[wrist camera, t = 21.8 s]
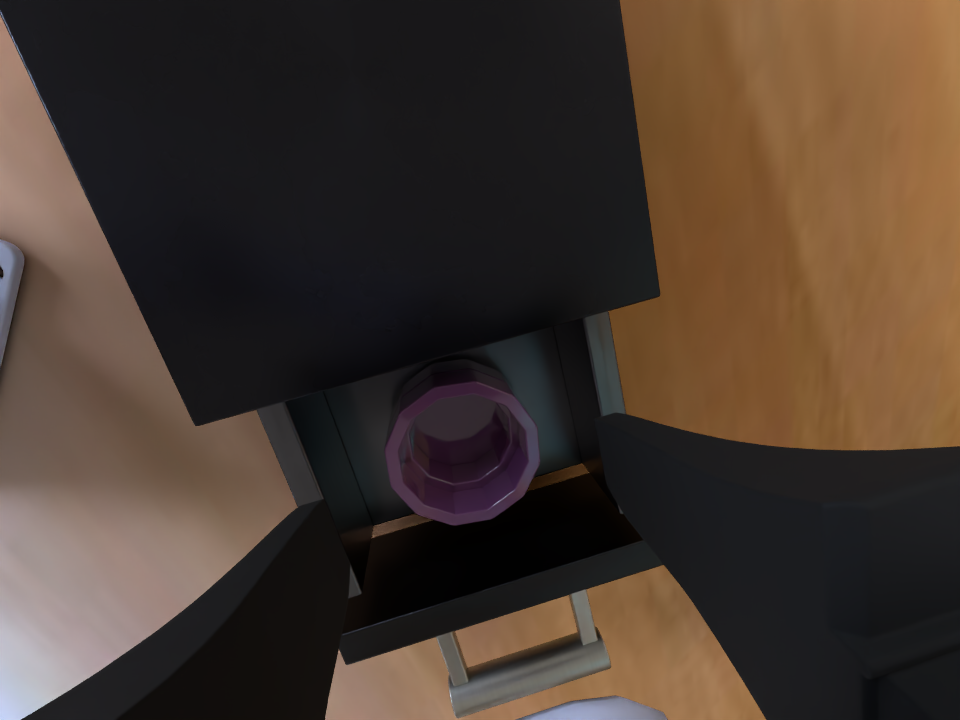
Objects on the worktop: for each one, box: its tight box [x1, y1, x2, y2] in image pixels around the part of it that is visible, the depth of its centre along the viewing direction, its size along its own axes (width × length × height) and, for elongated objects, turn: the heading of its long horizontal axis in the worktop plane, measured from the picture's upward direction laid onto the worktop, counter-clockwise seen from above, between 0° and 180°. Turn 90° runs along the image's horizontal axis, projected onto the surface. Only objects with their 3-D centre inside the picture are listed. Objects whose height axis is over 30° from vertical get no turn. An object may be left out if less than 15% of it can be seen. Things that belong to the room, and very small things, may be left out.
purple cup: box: [384, 359, 540, 526], centre depth 15 cm, size 5×5×3 cm
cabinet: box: [0, 0, 660, 426], centre depth 12 cm, size 13×12×6 cm
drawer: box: [257, 311, 664, 718], centre depth 16 cm, size 17×11×5 cm, turn 15°
